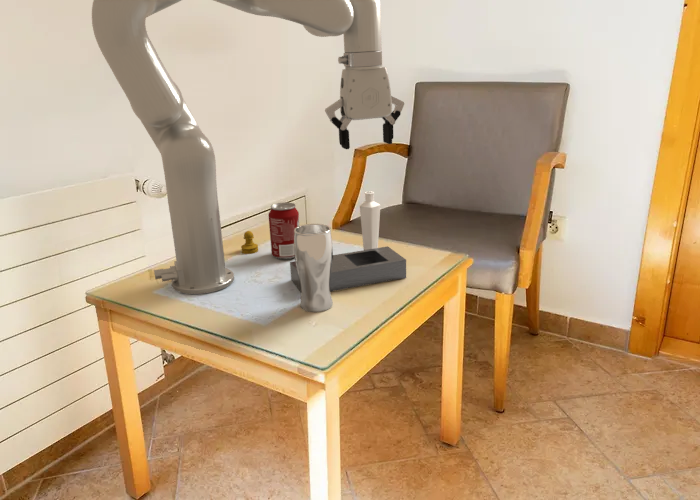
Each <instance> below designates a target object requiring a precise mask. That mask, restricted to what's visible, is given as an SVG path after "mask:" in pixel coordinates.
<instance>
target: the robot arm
mask: <svg viewBox="0 0 700 500" xmlns="http://www.w3.org/2000/svg"><path fill="white" fill-rule="evenodd" d="M181 1H182V0H93V1H92V7H91V24H92V25H91V26H92V30H93V35H94V38H95V40H96V43H97V45H98V47H99V49H100V52H101V55H102V56H103V57H104V59H105V61H106V63H107V64H108V67H109V68H110V70H111V71H112V74H113V75H114V78H115V79H116V81H117V82H118V84H119V85H120V87H121V89H122V91H123V92H124V94H125V97H126V98H127V99H128V102H129V104H130V107H131V109H132V111H133V113H134V114H135V116H136V117H137V118H138V119H139V120H140V122H141V124H142V126H143V127H144V129H145V130H146V132H147V133H148V135H149V136H150V139H151V140H152V142H153V143H154V146H155V147H156V149H157V150H158V151H159V153H160V156H161V161H162V167H163V172H164V173H163V174H164V180H165V189H166V196H167V204H168V213H169V216H170V223H171V230H172V239H173V246H174V252H175V259H176V260H174V261H173V262H174V265H170V266H169V268H161V269H160V268H159V269H154V270H153V272H154V273H153V274H154V279H155V280H160V279H161V281H162V282H169V281H171V288H172V289H173V290H174V291H176V292H178V293H180V294H187V295H201V294H208V293H214V292H218V291H220V290H224V289H225V288H227V287H229V286H230V285H231V284H233V283H234V281H235V275H234V274H235V273H234V272H233V271H232V270H231V269H230V268H227V267H226V261H225V252H224V243H223V242H224V241H223V233H222V226H221V225H222V223H221V215H220V206H219V197H218V187H217V185H218V184H217V165H216V156H215V151H214V148H213V147H214V146H212V143H211V142H210V141H211V140H209V138H208V137H207V136H206V135H205V133H204V132H203V131H202V129H201V128H200V126H199V125H198V123H197V121H196V119H195V117H194V116H193V114H192V112H191V109H190V108H189V107H188V105H187V103H186V101H185V100H184V97H183V95H182V92H181V89H180V87H179V86H178V85H177V83H176V82H175V81H174V80H173V79H172V77H171V76H170V73H169V72H168V71H167V69H166V67H165V65H164V63H163V62H162V60H161V58H160V57H159V54H158V52H157V50H156V48H155V47H154V45H153V43H152V41H151V38H150V37H149V35H148V33H147V32H148V31H147V28H146V27H147V26H146V19H147V18H148V17H150V16H152V15H154V14H157V13H159V12H161V11H162V10H165V9H167V8H169V7H171V6H173V5H176V4H178V3H180V2H181ZM212 1H214V2H216V3H220V4H222V5H225V6H228V7H231V8H233V9H235V10H239V11H242V12H244V13H248V14H251V15H255V16H261V17H273V18H278V19H283V20H286V21H290V22H293V23H296V24H300V25H302V26H303V28H304V29H305V31H307V32H308V33H310V34H311V35H313V36H315V37H318V38H319V37H321V38H325V37H326V38H328V37H338V36H342V35H343V50H344V52H343V55H342V56H338V59H337V61H338V64H340V65H341V64H342V65H343V66H344V69H342V71H341V78H340V90H339V99H338V100H336V101H334V102H333V103H332V104H330V105H329V106H327V107H326V108H325V110H324V112H325V114H326V117H328V119H329V121H330V123H332V124H333V126H335V128H337V129H338V140H339V141H338V142H339V145H340V146H341V148H342V149H345V150H349V149H350V148H351V146H350V130H349V129H348V126H349V125H350V123H351V122H352V121H362V120H370V119H380V118H381V119H382V120H383V121H384V123H383V124H382V139H383V140H382V142H383V143H385V144H388V145H392V144H393V139H394V125H395V124H396V122H397V121H398V119H399V117H400V116H401V114H402V113H401V112H402V111H403V108H404V106H405V102H404V101H402V100H401V99H398V98H396V97H395V96H392V93H391V83H390V80H389V79H390V78H389V72H388V69H387V67H386V66H383V51H382V18H381V15H382V14H381V0H212ZM393 105H394V109H393ZM338 110H340V115H341V117H340V118H338V117H337V116H336V114H335V112H336V111H338Z"/></svg>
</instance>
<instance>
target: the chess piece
mask: <svg viewBox="0 0 700 500" xmlns="http://www.w3.org/2000/svg"><path fill="white" fill-rule="evenodd" d="M254 238H255V236H254V233H253V232H252V231H250V230H247V231H245V232H244V234H243V239H244V240H245V242H244V244H243V245H241V246H240V247H241V253H242V254H245V255H253V254H256V253H258V252H259V245H258V244H257V243H255V242H254V240H253V239H254Z"/></svg>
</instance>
